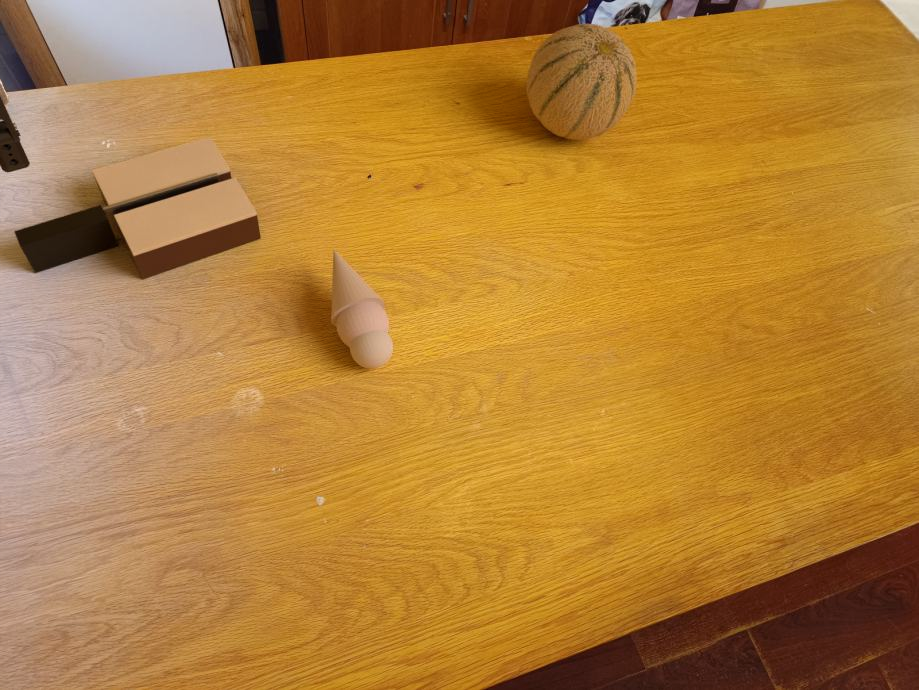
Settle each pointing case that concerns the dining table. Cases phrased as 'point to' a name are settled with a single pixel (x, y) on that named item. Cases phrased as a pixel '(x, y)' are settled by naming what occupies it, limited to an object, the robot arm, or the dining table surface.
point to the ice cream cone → (359, 316)
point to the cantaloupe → (581, 81)
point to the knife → (89, 228)
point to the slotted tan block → (178, 207)
